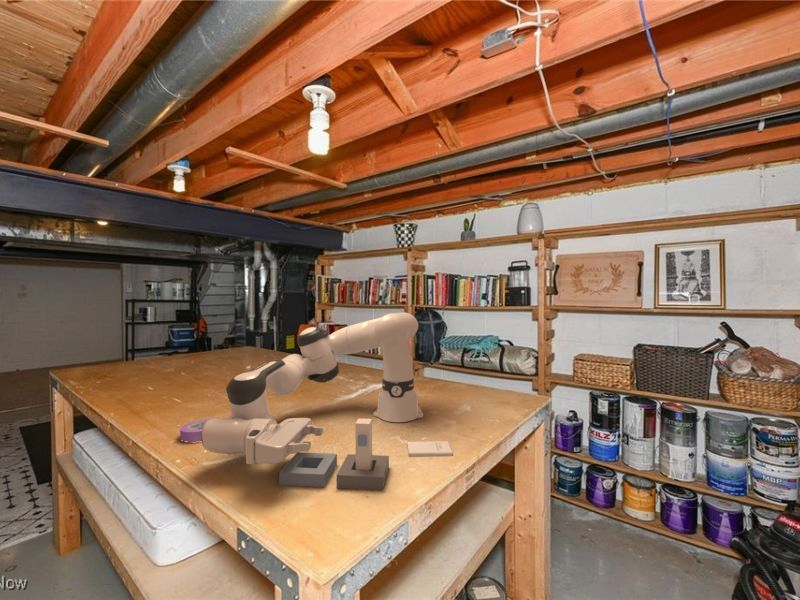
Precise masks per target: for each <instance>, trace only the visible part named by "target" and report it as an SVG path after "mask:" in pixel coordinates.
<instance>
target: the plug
mask: <svg viewBox="0 0 800 600" xmlns="http://www.w3.org/2000/svg"><path fill="white" fill-rule="evenodd" d="M354 426H355V455H356V470H365V471H372V455H373V418H358V419H357V420H356V421H355V425H354Z"/></svg>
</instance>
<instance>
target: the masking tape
mask: <svg viewBox="0 0 800 600" xmlns="http://www.w3.org/2000/svg"><path fill="white" fill-rule="evenodd" d="M211 419H212V418H206V419H205V418H203V419H197V420H194V421H190V422H188V423H186V424H183V425H181V426H180V428H179V431H180V433H179V435H180V436H179V437H180V439H181V440H183V441H188V442H196V441H202V436H201V435H202V430H203V427H204V425H205V423H206V422H207V421H208V420H211ZM180 439H179V440H180ZM181 440H180V441H181Z"/></svg>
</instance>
